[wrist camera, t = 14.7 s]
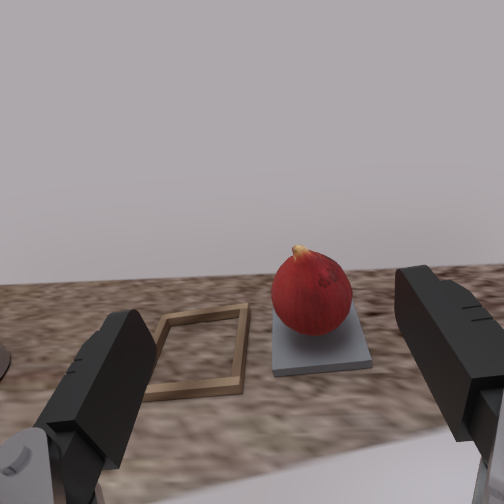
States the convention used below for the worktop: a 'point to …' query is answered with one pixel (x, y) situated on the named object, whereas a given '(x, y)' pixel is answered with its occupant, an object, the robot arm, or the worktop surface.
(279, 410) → the worktop surface
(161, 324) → the square wooden frame
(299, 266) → the onion
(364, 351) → the coaster
